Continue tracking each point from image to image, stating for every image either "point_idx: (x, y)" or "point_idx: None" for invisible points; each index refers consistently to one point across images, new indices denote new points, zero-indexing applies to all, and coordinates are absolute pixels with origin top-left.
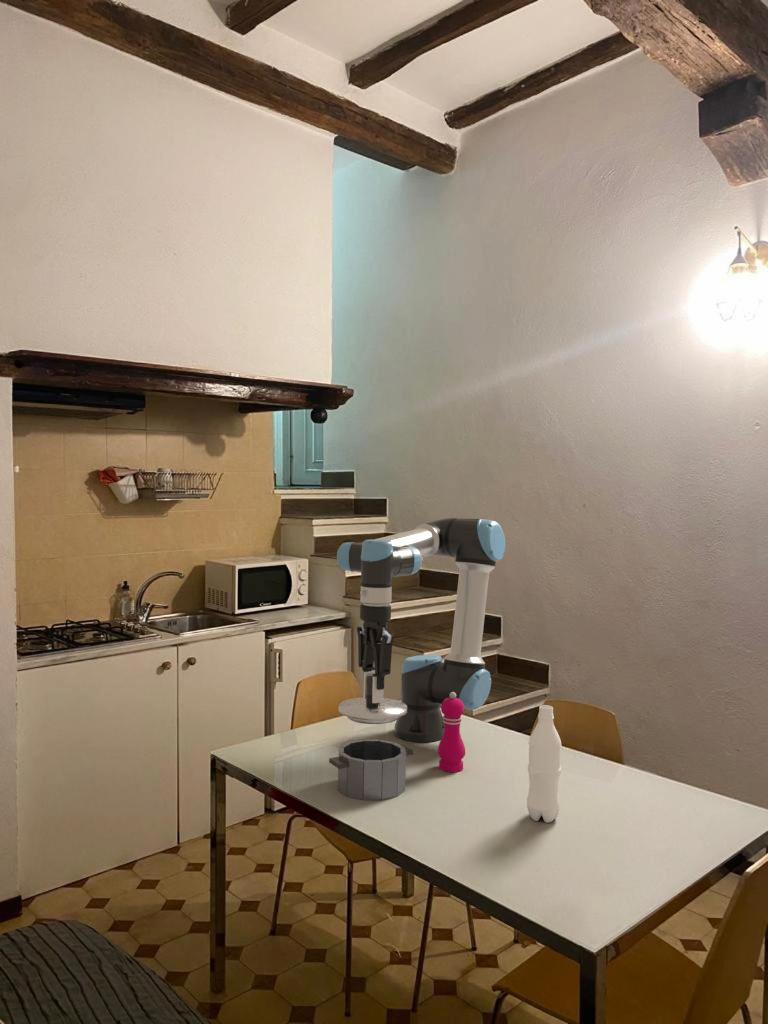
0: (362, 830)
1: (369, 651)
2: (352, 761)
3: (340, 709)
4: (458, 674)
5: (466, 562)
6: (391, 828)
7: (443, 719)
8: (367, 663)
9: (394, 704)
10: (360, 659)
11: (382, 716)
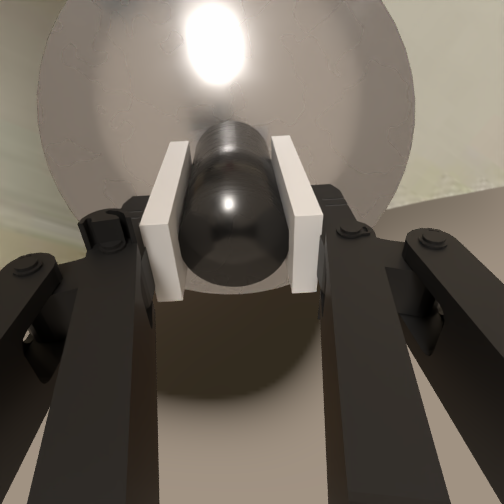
0: (412, 203)
1: (153, 461)
2: None
3: (215, 292)
4: None
5: None
6: (446, 151)
7: None
8: (151, 337)
9: (252, 15)
10: (55, 379)
11: (393, 192)
